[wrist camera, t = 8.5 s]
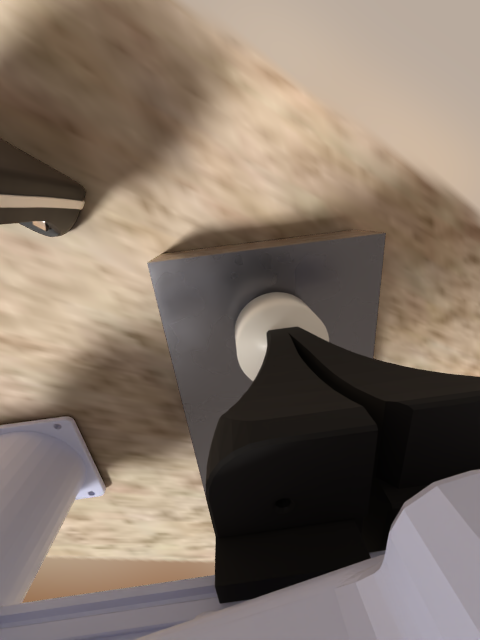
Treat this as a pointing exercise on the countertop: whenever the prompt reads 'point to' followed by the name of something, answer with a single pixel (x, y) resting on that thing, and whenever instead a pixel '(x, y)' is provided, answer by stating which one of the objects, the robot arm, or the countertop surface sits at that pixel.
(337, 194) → the countertop surface
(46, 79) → the countertop surface
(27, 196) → the battery charger
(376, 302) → the mount plate
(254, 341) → the knob
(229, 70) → the countertop surface
